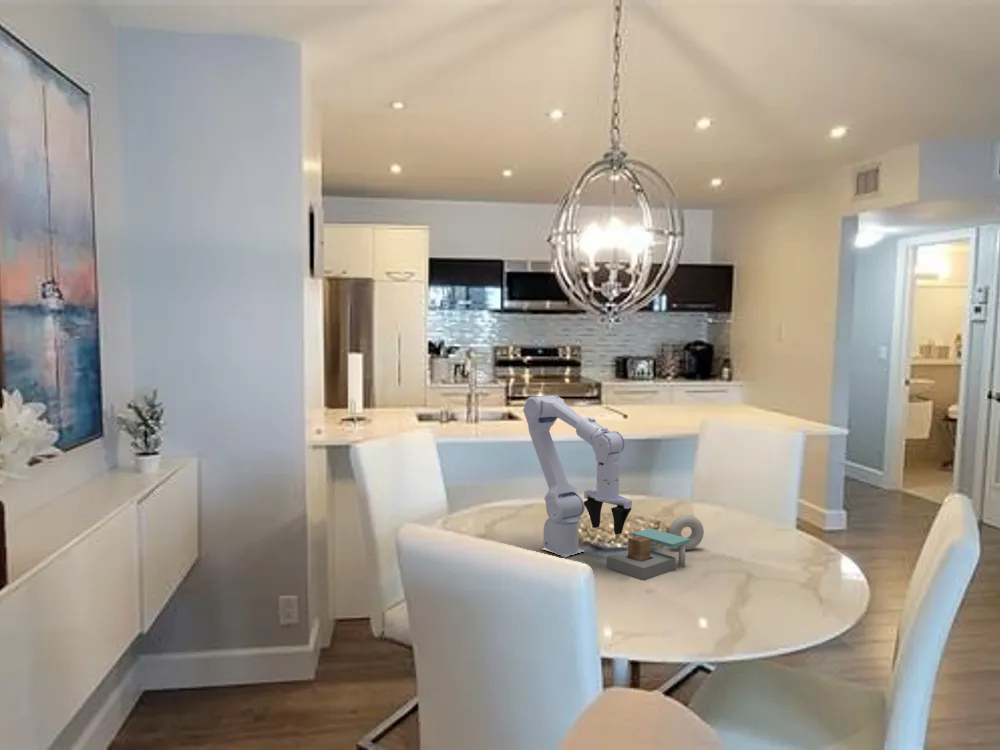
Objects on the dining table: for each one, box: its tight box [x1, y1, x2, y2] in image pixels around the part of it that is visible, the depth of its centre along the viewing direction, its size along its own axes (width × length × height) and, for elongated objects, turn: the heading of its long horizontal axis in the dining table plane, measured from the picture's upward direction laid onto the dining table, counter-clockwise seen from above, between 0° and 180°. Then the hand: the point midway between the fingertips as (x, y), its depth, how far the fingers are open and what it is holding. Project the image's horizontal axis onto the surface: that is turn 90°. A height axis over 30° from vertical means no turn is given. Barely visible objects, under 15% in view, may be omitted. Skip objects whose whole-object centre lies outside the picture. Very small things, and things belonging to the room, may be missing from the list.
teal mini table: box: [632, 527, 690, 568], centre depth 198 cm, size 13×8×7 cm, turn 41°
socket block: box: [605, 549, 676, 581], centre depth 193 cm, size 12×13×3 cm
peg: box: [627, 536, 652, 562], centre depth 192 cm, size 4×4×8 cm
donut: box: [668, 514, 705, 551], centre depth 209 cm, size 10×3×10 cm, turn 97°
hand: (606, 530), depth 194 cm, fingers open, 7 cm apart
